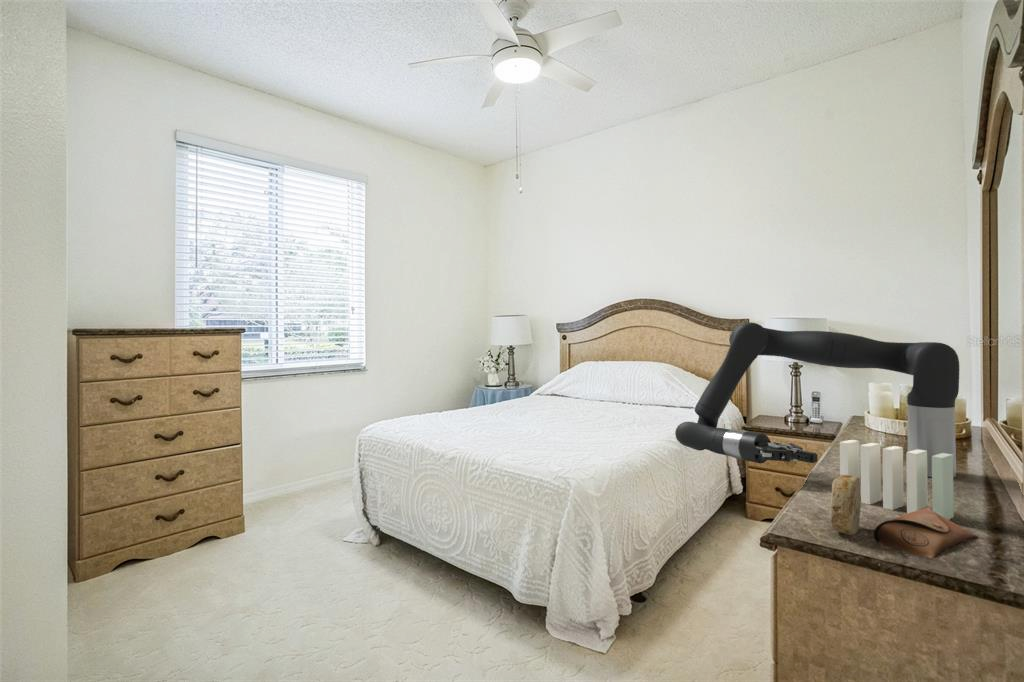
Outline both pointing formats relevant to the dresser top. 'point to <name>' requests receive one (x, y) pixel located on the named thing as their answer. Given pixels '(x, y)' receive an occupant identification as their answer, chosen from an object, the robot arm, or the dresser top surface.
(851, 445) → the domino
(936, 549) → the sunglasses case
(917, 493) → the domino
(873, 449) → the domino
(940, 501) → the domino
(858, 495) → the stone disc
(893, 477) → the domino
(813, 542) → the dresser top surface
